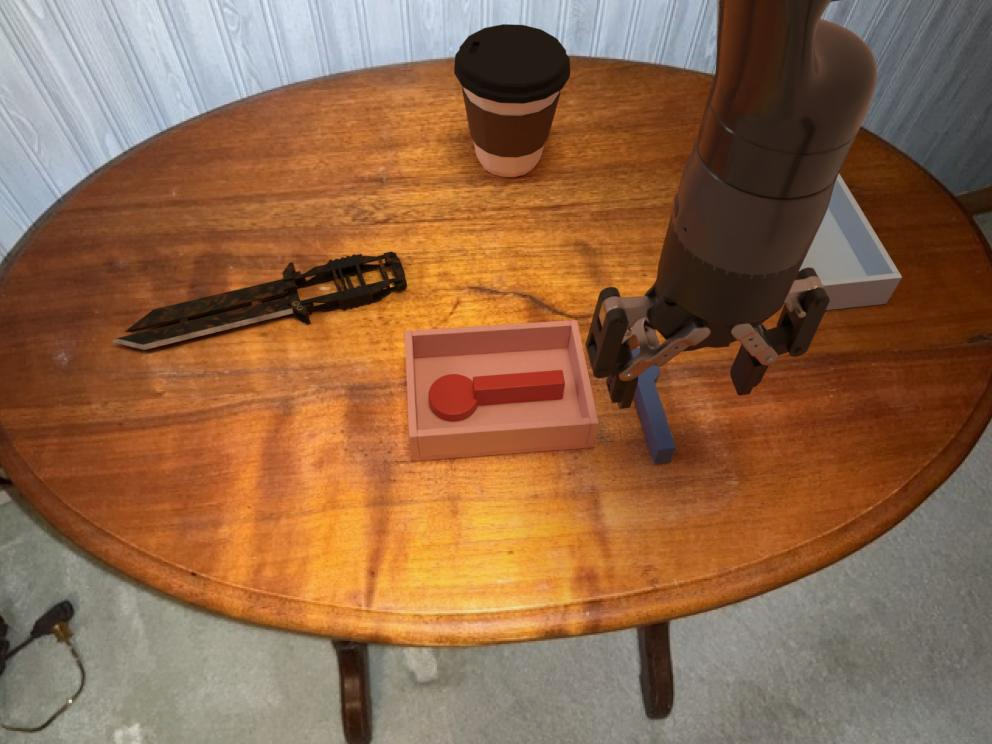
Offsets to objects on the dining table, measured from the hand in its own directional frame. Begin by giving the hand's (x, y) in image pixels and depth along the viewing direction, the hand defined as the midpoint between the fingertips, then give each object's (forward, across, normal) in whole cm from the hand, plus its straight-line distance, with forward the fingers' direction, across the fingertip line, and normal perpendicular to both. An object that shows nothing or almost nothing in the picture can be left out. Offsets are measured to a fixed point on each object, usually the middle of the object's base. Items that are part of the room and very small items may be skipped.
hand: (680, 391), depth 57 cm
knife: (+9, -30, +19) cm, 37 cm away
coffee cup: (+9, -6, +37) cm, 38 cm away
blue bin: (+9, +20, +25) cm, 33 cm away
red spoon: (+8, -12, +7) cm, 16 cm away
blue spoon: (+9, 0, +4) cm, 10 cm away
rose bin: (+9, -12, +7) cm, 16 cm away
